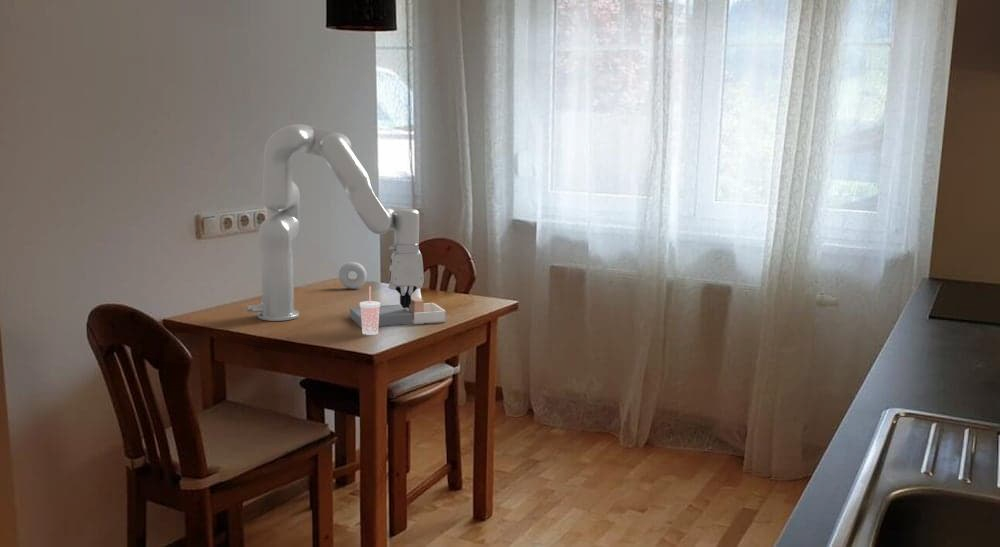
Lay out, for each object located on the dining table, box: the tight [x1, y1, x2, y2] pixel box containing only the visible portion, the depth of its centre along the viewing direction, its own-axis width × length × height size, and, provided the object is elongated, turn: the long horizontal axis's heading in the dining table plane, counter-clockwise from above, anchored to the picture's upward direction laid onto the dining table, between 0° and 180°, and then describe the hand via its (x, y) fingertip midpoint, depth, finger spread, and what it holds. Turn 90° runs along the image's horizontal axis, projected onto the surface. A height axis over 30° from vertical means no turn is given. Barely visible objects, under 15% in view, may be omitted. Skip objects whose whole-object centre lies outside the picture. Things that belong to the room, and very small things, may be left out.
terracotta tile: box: [409, 297, 425, 320], centre depth 279 cm, size 6×6×3 cm
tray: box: [405, 302, 447, 325], centre depth 280 cm, size 10×12×4 cm
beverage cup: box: [359, 285, 382, 336], centre depth 261 cm, size 6×6×14 cm
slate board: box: [349, 304, 413, 329], centre depth 277 cm, size 16×14×3 cm
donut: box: [338, 261, 368, 290], centre depth 322 cm, size 10×3×10 cm, turn 95°
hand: (405, 307), depth 278 cm, fingers closed
